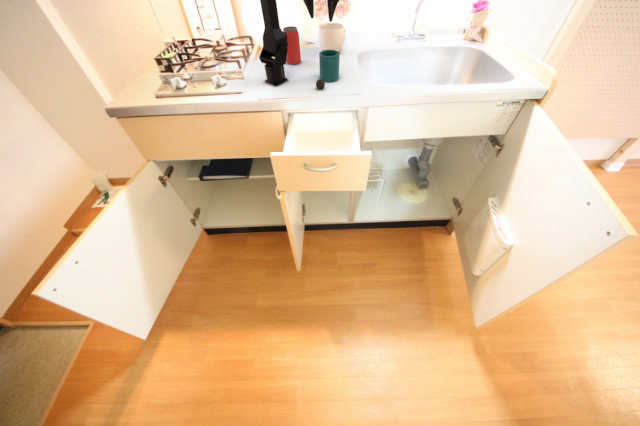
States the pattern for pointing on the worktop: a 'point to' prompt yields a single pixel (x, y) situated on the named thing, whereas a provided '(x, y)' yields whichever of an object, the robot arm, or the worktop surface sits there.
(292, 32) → the beer can
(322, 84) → the ball
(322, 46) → the cup
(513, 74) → the worktop surface
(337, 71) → the jar
